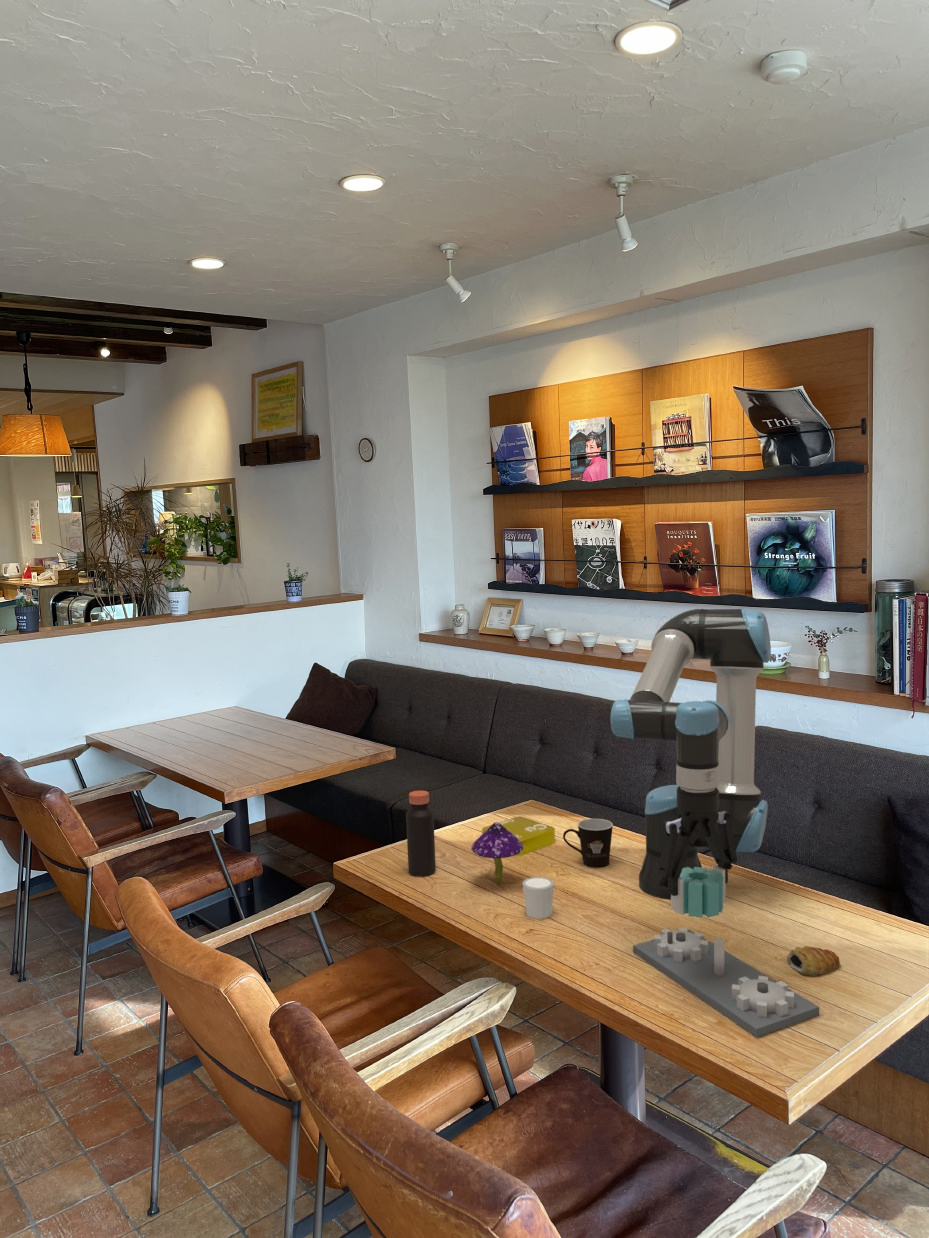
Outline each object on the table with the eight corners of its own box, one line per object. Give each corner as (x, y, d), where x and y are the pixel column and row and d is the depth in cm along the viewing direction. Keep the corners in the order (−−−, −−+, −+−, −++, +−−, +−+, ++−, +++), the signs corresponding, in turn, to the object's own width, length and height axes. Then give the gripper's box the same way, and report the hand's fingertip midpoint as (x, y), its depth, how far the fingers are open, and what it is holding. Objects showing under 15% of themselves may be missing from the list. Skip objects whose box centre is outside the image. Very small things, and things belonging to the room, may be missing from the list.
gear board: (689, 936, 186) (689, 896, 186) (819, 1015, 156) (819, 968, 155) (633, 952, 180) (632, 911, 180) (756, 1037, 150) (756, 989, 149)
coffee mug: (618, 859, 229) (617, 821, 228) (605, 872, 221) (605, 832, 220) (575, 852, 235) (575, 815, 234) (562, 864, 227) (561, 825, 226)
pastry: (825, 955, 177) (825, 936, 177) (848, 971, 171) (849, 952, 170) (783, 963, 174) (783, 944, 174) (805, 980, 168) (806, 960, 168)
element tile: (519, 829, 254) (519, 813, 254) (558, 843, 243) (558, 826, 242) (479, 843, 245) (478, 826, 244) (517, 858, 234) (516, 840, 233)
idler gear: (702, 894, 175) (702, 863, 174) (733, 911, 166) (733, 879, 166) (664, 903, 171) (663, 872, 170) (693, 920, 163) (693, 888, 162)
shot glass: (552, 920, 196) (552, 889, 195) (521, 919, 197) (520, 888, 197) (556, 907, 203) (555, 877, 202) (525, 905, 204) (524, 875, 203)
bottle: (433, 877, 222) (429, 797, 220) (405, 876, 223) (402, 797, 221) (438, 866, 229) (435, 789, 226) (411, 866, 230) (408, 789, 228)
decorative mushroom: (461, 883, 218) (459, 822, 216) (499, 868, 226) (497, 810, 224) (497, 898, 208) (495, 835, 207) (535, 882, 216) (534, 821, 215)
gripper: (661, 801, 159) (662, 925, 161) (758, 783, 167) (758, 902, 170) (636, 790, 166) (638, 909, 168) (730, 774, 174) (731, 887, 176)
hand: (698, 905), depth 169 cm, fingers closed on idler gear, 9 cm apart
